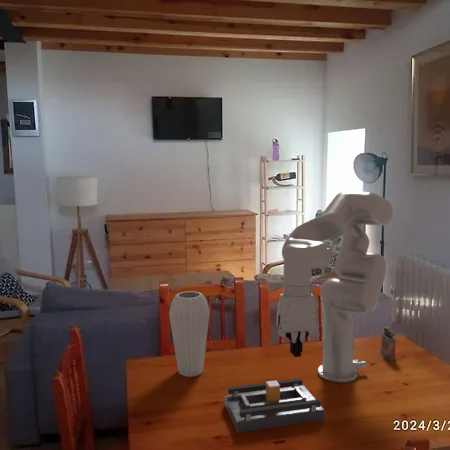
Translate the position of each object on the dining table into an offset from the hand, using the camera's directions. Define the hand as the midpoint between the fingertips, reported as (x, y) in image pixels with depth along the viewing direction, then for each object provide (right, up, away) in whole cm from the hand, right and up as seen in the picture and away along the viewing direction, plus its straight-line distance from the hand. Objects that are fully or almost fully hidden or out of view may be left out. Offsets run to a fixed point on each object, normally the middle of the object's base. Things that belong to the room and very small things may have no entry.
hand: (296, 355), depth 128 cm
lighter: (+38, -11, +38) cm, 55 cm away
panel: (-6, -16, +1) cm, 17 cm away
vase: (-31, -13, +27) cm, 43 cm away
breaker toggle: (-6, -13, +1) cm, 15 cm away
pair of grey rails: (-6, -13, +1) cm, 15 cm away
